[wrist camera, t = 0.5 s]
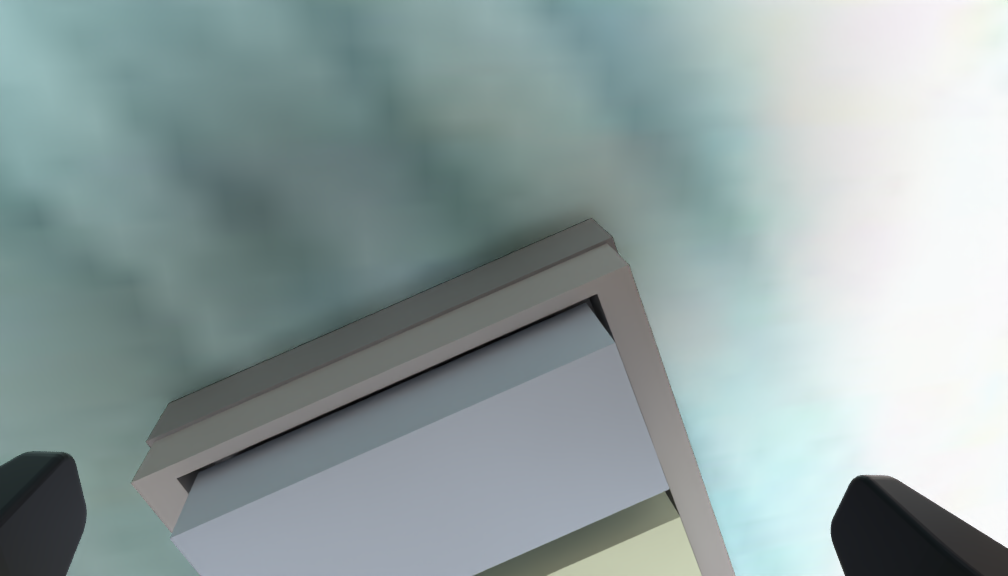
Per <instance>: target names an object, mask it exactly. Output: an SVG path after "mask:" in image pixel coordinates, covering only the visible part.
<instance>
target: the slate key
mask: <svg viewBox="0 0 1008 576" xmlns="http://www.w3.org/2000/svg"><path fill="white" fill-rule="evenodd" d="M666 490H669V486H668V483H667V481H666V478H665V475H664V473H663V470H662V467H661V464H660V462H659V459H658V456H657V454H656V451H655V448H654V446H653V443H652V440H651V438H650V435H649V432H648V430H647V427H646V424H645V422H644V419H643V416H642V413H641V411H640V408H639V405H638V403H637V400H636V397H635V395H634V392H633V389H632V387H631V384H630V381H629V379H628V376H627V373H626V370H625V368H624V365H623V362H622V360H621V357H620V354H619V352H618V349H617V346H616V344H615V342H614V340H613V339H612V338H611V336H610V335H609V334H608V332H607V331H606V329H605V328H604V327H603V325H602V324H601V323H600V321H599V320H598V318H597V317H596V316H595V314H594V313H593V312H592V310H591V309H590V307H589V306H588V305H587V303H583V304H581V305H579V306H577V307H574V308H572V309H570V310H567V311H565V312H563V313H561V314H558V315H556V316H554V317H552V318H549V319H547V320H545V321H542V322H540V323H538V324H536V325H533V326H531V327H529V328H526V329H524V330H522V331H520V332H517V333H515V334H513V335H511V336H508V337H506V338H504V339H501V340H499V341H497V342H495V343H492V344H490V345H488V346H485V347H483V348H481V349H479V350H476V351H474V352H472V353H470V354H467V355H465V356H463V357H460V358H458V359H456V360H454V361H451V362H449V363H447V364H445V365H442V366H440V367H438V368H435V369H433V370H431V371H429V372H426V373H424V374H422V375H419V376H417V377H415V378H413V379H410V380H408V381H406V382H404V383H401V384H399V385H397V386H394V387H392V388H390V389H388V390H385V391H383V392H381V393H378V394H376V395H374V396H372V397H369V398H367V399H365V400H363V401H360V402H358V403H356V404H353V405H351V406H349V407H347V408H344V409H342V410H340V411H337V412H335V413H333V414H331V415H328V416H326V417H324V418H322V419H319V420H317V421H315V422H312V423H310V424H308V425H306V426H303V427H301V428H299V429H296V430H294V431H292V432H290V433H287V434H285V435H283V436H281V437H278V438H276V439H274V440H271V441H269V442H267V443H265V444H262V445H260V446H258V447H255V448H253V449H251V450H249V451H246V452H244V453H242V454H240V455H237V456H235V457H233V458H230V459H228V460H226V461H224V462H221V463H219V464H217V465H215V466H212V467H210V468H208V469H205V470H203V471H201V472H199V473H198V474H197V477H196V479H195V481H194V484H193V486H192V488H191V490H190V493H189V495H188V497H187V500H186V502H185V504H184V507H183V509H182V511H181V513H180V516H179V518H178V520H177V523H176V525H175V527H174V529H173V532H172V534H171V536H170V540H171V541H172V542H173V543H174V544H175V546H176V547H177V548H178V549H179V550H180V552H181V553H182V554H183V555H184V556H185V558H186V559H187V560H188V561H189V563H190V564H191V565H192V566H193V567H194V569H195V570H196V571H197V572H198V573H199V575H200V576H473V575H476V574H478V573H480V572H482V571H485V570H487V569H489V568H492V567H494V566H496V565H498V564H501V563H503V562H505V561H507V560H510V559H512V558H514V557H517V556H519V555H521V554H523V553H526V552H528V551H530V550H532V549H535V548H537V547H539V546H542V545H544V544H546V543H548V542H551V541H553V540H555V539H557V538H560V537H562V536H564V535H567V534H569V533H571V532H573V531H576V530H578V529H580V528H582V527H585V526H587V525H589V524H592V523H594V522H596V521H598V520H601V519H603V518H605V517H607V516H610V515H612V514H614V513H616V512H619V511H621V510H623V509H626V508H628V507H630V506H632V505H635V504H637V503H639V502H641V501H644V500H646V499H648V498H651V497H653V496H655V495H657V494H660V493H662V492H664V491H666Z"/></svg>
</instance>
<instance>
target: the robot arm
mask: <svg viewBox="0 0 1008 576" xmlns="http://www.w3.org/2000/svg"><path fill="white" fill-rule="evenodd" d="M86 516H87V510H86V504H85V500H84V496H83V491H82V487H81V483H80V479H79V475H78V471H77V467H76V463H75V461H74V459H73V457H72V456H71V455H70V454H68V453H64V452H41V451H32V452H26V453H23V454H21V455H19V456H17V457H15V458H13V459H12V460H10V461H8V462H7V463H5V464H3V465H2V466H0V576H66V574H67V572H68V569H69V567H70V564H71V562H72V559H73V557H74V554H75V551H76V549H77V546H78V544H79V541H80V539H81V536H82V534H83V531H84V527H85V523H86ZM831 538H832V542H833V545H834V548H835V550H836V553H837V556H838V558H839V561H840V564H841V566H842V569H843V572H844V574H845V576H1008V548H1006V547H1004V546H1003V545H1001V544H1000V543H998V542H996V541H995V540H993V539H992V538H990V537H988V536H987V535H985V534H984V533H982V532H980V531H979V530H977V529H976V528H974V527H972V526H971V525H969V524H968V523H966V522H964V521H963V520H961V519H960V518H958V517H956V516H955V515H953V514H952V513H950V512H948V511H947V510H945V509H943V508H942V507H940V506H939V505H937V504H935V503H934V502H932V501H931V500H929V499H927V498H926V497H924V496H923V495H921V494H919V493H918V492H916V491H915V490H913V489H911V488H910V487H908V486H907V485H905V484H903V483H902V482H900V481H899V480H897V479H895V478H893V477H890V476H884V475H860V476H857V477H856V478H854V479H853V480H852V481H851V483H850V484H849V486H848V488H847V490H846V492H845V495H844V497H843V499H842V501H841V503H840V505H839V507H838V509H837V511H836V513H835V515H834V517H833V519H832V522H831Z"/></svg>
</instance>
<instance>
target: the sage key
mask: <svg viewBox="0 0 1008 576" xmlns="http://www.w3.org/2000/svg"><path fill="white" fill-rule="evenodd" d="M473 576H702V575H701V572H700V569H699V567H698V564H697V561H696V559H695V556H694V553H693V550H692V548H691V545H690V542H689V540H688V537H687V534H686V532H685V529H684V526H683V524H682V521H681V518H680V516H679V514H678V513H677V511H676V509H675V508H674V506H673V504H672V503H671V501H670V499H669V498H668V496H667V494H666V493H665V491H664V492H662V493H660V494H657V495H655V496H653V497H651V498H648V499H646V500H644V501H641V502H639V503H637V504H635V505H632V506H630V507H628V508H626V509H623V510H621V511H619V512H616V513H614V514H612V515H610V516H607V517H605V518H603V519H601V520H598V521H596V522H594V523H592V524H589V525H587V526H585V527H582V528H580V529H578V530H576V531H573V532H571V533H569V534H567V535H564V536H562V537H560V538H557V539H555V540H553V541H551V542H548V543H546V544H544V545H542V546H539V547H537V548H535V549H532V550H530V551H528V552H526V553H523V554H521V555H519V556H517V557H514V558H512V559H510V560H507V561H505V562H503V563H501V564H498V565H496V566H494V567H492V568H489V569H487V570H485V571H482V572H480V573H478V574H476V575H473Z"/></svg>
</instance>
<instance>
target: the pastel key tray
mask: <svg viewBox="0 0 1008 576" xmlns="http://www.w3.org/2000/svg"><path fill="white" fill-rule="evenodd" d="M583 303H587V305H588V306H589V307H590V309H591V310H592V312H593V313H594V314H595V316H596V317H597V318H598V320H599V321H600V323H601V324H602V325H603V327H604V328H605V329H606V331H607V332H608V334H609V335H610V336H611V338H612V339H613V340H614V342H615V344H616V346H617V349H618V352H619V354H620V357H621V360H622V362H623V365H624V368H625V370H626V373H627V376H628V379H629V381H630V384H631V387H632V389H633V392H634V395H635V397H636V400H637V403H638V405H639V408H640V411H641V413H642V416H643V419H644V422H645V424H646V427H647V430H648V432H649V435H650V438H651V440H652V443H653V446H654V448H655V451H656V454H657V456H658V459H659V462H660V464H661V467H662V470H663V473H664V475H665V478H666V481H667V483H668V486H669V490H666V491H665V493H666V494H667V496H668V498H669V499H670V501H671V503H672V504H673V506H674V508H675V509H676V511H677V513H678V514H679V516H680V518H681V521H682V524H683V526H684V529H685V532H686V534H687V537H688V540H689V542H690V545H691V548H692V550H693V553H694V556H695V559H696V561H697V564H698V567H699V569H700V572H701V575H702V576H735V573H734V570H733V567H732V564H731V561H730V558H729V556H728V553H727V550H726V547H725V544H724V541H723V538H722V535H721V532H720V529H719V526H718V523H717V520H716V518H715V515H714V512H713V509H712V506H711V503H710V500H709V497H708V494H707V491H706V488H705V485H704V482H703V480H702V477H701V474H700V471H699V468H698V465H697V462H696V459H695V456H694V453H693V450H692V447H691V444H690V442H689V439H688V436H687V433H686V430H685V427H684V424H683V421H682V418H681V415H680V412H679V409H678V406H677V404H676V401H675V398H674V395H673V392H672V389H671V386H670V383H669V380H668V377H667V374H666V371H665V368H664V366H663V363H662V360H661V357H660V354H659V351H658V348H657V345H656V342H655V339H654V336H653V333H652V330H651V328H650V325H649V322H648V319H647V316H646V313H645V310H644V307H643V304H642V301H641V298H640V295H639V292H638V290H637V287H636V284H635V281H634V278H633V275H632V272H631V269H630V266H629V264H628V263H627V262H626V261H625V260H624V259H623V258H622V257H621V256H620V255H619V254H618V252H617V249H616V246H615V243H614V240H613V237H612V236H611V235H610V234H609V233H608V232H606V231H605V230H604V229H603V228H602V227H601V226H600V225H599V224H598V223H597V222H596V221H595V220H593V219H592V218H591V219H588V220H586V221H584V222H582V223H579V224H577V225H575V226H572V227H570V228H568V229H566V230H563V231H561V232H559V233H556V234H554V235H552V236H550V237H547V238H545V239H543V240H541V241H538V242H536V243H534V244H531V245H529V246H527V247H525V248H522V249H520V250H518V251H515V252H513V253H511V254H509V255H506V256H504V257H502V258H499V259H497V260H495V261H493V262H490V263H488V264H486V265H484V266H481V267H479V268H477V269H474V270H472V271H470V272H468V273H465V274H463V275H461V276H458V277H456V278H454V279H452V280H449V281H447V282H445V283H442V284H440V285H438V286H436V287H433V288H431V289H429V290H427V291H424V292H422V293H420V294H417V295H415V296H413V297H411V298H408V299H406V300H404V301H401V302H399V303H397V304H395V305H392V306H390V307H388V308H386V309H383V310H381V311H379V312H376V313H374V314H372V315H370V316H367V317H365V318H363V319H360V320H358V321H356V322H354V323H351V324H349V325H347V326H344V327H342V328H340V329H338V330H335V331H333V332H331V333H329V334H326V335H324V336H322V337H319V338H317V339H315V340H313V341H310V342H308V343H306V344H303V345H301V346H299V347H297V348H294V349H292V350H290V351H287V352H285V353H283V354H281V355H278V356H276V357H274V358H272V359H269V360H267V361H265V362H262V363H260V364H258V365H256V366H253V367H251V368H249V369H246V370H244V371H242V372H240V373H237V374H235V375H233V376H230V377H228V378H226V379H224V380H221V381H219V382H217V383H215V384H212V385H210V386H208V387H205V388H203V389H201V390H199V391H196V392H194V393H192V394H189V395H187V396H185V397H183V398H180V399H178V400H176V401H174V402H171V403H169V404H168V405H167V407H166V409H165V410H164V412H163V414H162V415H161V417H160V419H159V420H158V422H157V424H156V425H155V427H154V429H153V430H152V432H151V434H150V436H149V437H148V439H147V441H146V443H147V444H148V445H149V447H150V448H151V449H150V450H149V452H148V454H147V456H146V457H145V459H144V461H143V463H142V464H141V466H140V468H139V469H138V471H137V473H136V475H135V476H134V478H133V480H132V482H131V484H132V485H133V486H134V488H135V489H136V490H137V491H138V493H139V494H140V495H141V496H142V497H143V499H144V500H145V501H146V502H147V504H148V505H149V506H150V507H151V508H152V510H153V511H154V512H155V513H156V515H157V516H158V517H159V518H160V519H161V521H162V522H163V523H164V524H165V526H166V527H167V528H168V529H169V530H170V532H171V533H172V532H173V529H174V527H175V525H176V523H177V520H178V518H179V516H180V513H181V511H182V509H183V507H184V504H185V502H186V500H187V497H188V495H189V493H190V490H191V488H192V486H193V484H194V481H195V479H196V477H197V474H198V473H199V472H201V471H203V470H205V469H208V468H210V467H212V466H215V465H217V464H219V463H221V462H224V461H226V460H228V459H230V458H233V457H235V456H237V455H240V454H242V453H244V452H246V451H249V450H251V449H253V448H255V447H258V446H260V445H262V444H265V443H267V442H269V441H271V440H274V439H276V438H278V437H281V436H283V435H285V434H287V433H290V432H292V431H294V430H296V429H299V428H301V427H303V426H306V425H308V424H310V423H312V422H315V421H317V420H319V419H322V418H324V417H326V416H328V415H331V414H333V413H335V412H337V411H340V410H342V409H344V408H347V407H349V406H351V405H353V404H356V403H358V402H360V401H363V400H365V399H367V398H369V397H372V396H374V395H376V394H378V393H381V392H383V391H385V390H388V389H390V388H392V387H394V386H397V385H399V384H401V383H404V382H406V381H408V380H410V379H413V378H415V377H417V376H419V375H422V374H424V373H426V372H429V371H431V370H433V369H435V368H438V367H440V366H442V365H445V364H447V363H449V362H451V361H454V360H456V359H458V358H460V357H463V356H465V355H467V354H470V353H472V352H474V351H476V350H479V349H481V348H483V347H485V346H488V345H490V344H492V343H495V342H497V341H499V340H501V339H504V338H506V337H508V336H511V335H513V334H515V333H517V332H520V331H522V330H524V329H526V328H529V327H531V326H533V325H536V324H538V323H540V322H542V321H545V320H547V319H549V318H552V317H554V316H556V315H558V314H561V313H563V312H565V311H567V310H570V309H572V308H574V307H577V306H579V305H581V304H583Z"/></svg>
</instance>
